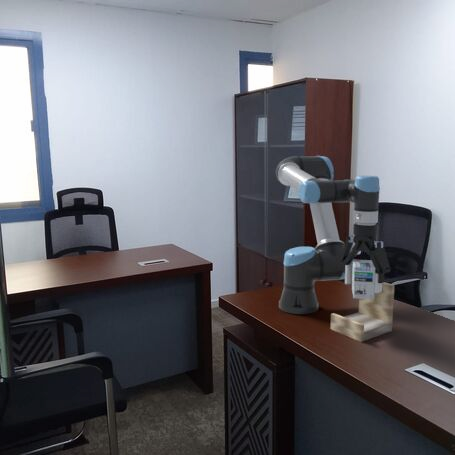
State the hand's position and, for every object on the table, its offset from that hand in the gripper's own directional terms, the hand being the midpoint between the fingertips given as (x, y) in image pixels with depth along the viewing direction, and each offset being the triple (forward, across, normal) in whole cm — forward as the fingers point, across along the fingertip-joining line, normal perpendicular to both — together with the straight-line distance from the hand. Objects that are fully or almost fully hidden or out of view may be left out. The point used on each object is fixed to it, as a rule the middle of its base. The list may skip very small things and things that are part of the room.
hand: (362, 287), depth 153 cm
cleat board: (+15, 0, 0) cm, 15 cm away
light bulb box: (+3, 0, 0) cm, 3 cm away
